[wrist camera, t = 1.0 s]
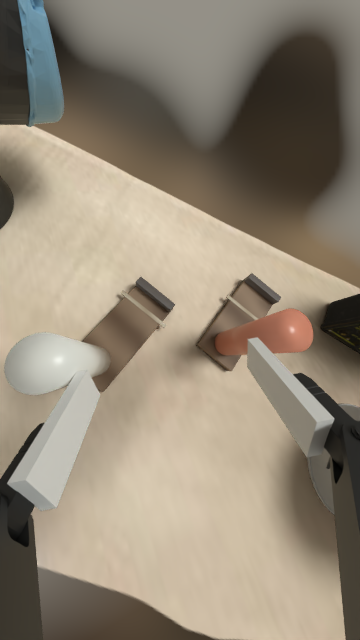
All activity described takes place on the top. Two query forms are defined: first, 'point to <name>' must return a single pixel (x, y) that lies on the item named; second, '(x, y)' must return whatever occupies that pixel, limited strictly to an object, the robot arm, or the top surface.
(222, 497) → the top surface
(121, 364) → the brown wooden board
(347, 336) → the voltmeter
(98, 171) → the top surface
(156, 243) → the top surface
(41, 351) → the grey plug
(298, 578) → the top surface
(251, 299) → the brown base
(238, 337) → the terracotta plug
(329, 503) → the container
